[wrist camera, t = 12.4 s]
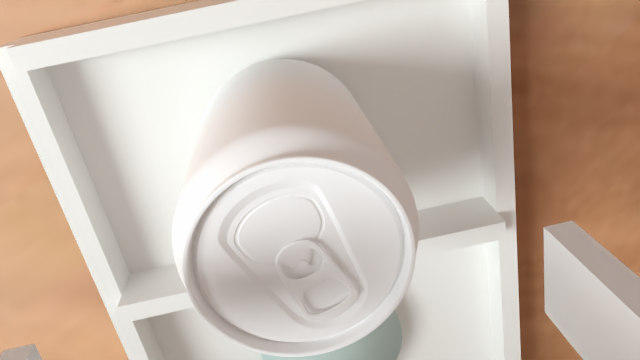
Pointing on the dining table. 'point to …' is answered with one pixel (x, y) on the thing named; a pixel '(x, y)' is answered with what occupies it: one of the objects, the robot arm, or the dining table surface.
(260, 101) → the beverage can
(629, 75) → the dining table surface
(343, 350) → the pale green smooth oval
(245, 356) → the divided white tray
